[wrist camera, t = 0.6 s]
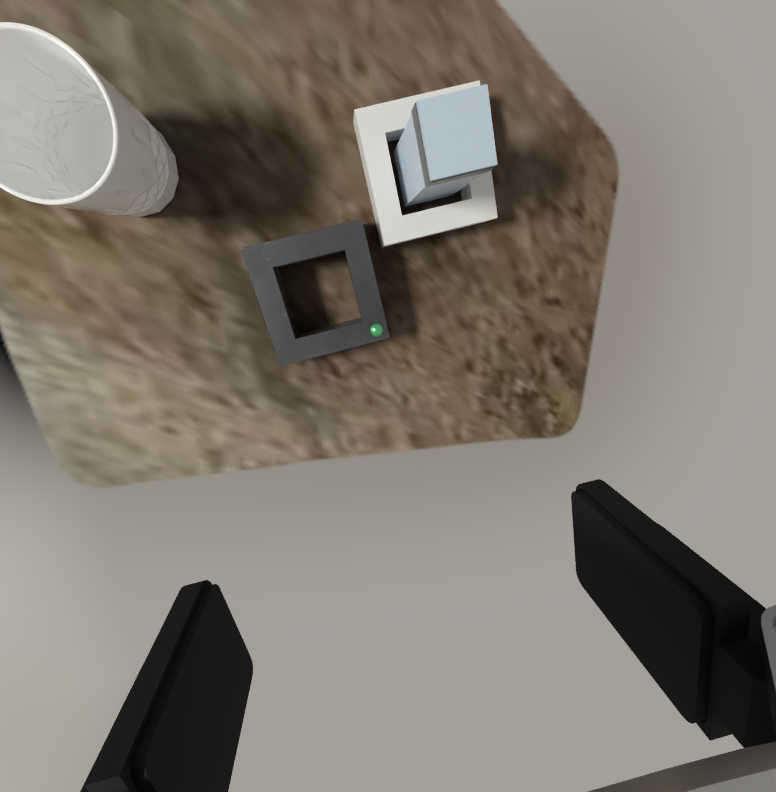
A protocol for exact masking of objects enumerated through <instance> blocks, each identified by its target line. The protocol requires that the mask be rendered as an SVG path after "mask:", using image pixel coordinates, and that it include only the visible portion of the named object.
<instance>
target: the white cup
mask: <svg viewBox="0 0 776 792" xmlns="http://www.w3.org/2000/svg"><path fill="white" fill-rule="evenodd" d="M178 180H179V176H178V170H177V164H176V158H175V155H174V153H173V152H172V150H171V148H170V147H169V145H168V143H167V142H166V140H165V138H164V137H163V135H162V134H161V133H160V132H159V131H158V130H157V129H155V128H154V127H153V126H152V125H151V124H150V123H149V122H148V120H147V119H146V118H145V117H144V116H143V115H142V114H141V113H140V112H139V111H138V110H137V109H136V108H135V107H134V106H133V105H132V104H131V103H130V102H129V101H128V100H127V99H126V98H125V97H124V96H123V95H122V94H121V93H120V92H119V91H118V90H117V89H116V88H115V87H114V86H113V85H112V84H110V83H109V82H108V81H107V80H106V79H105V78H104V77H103V76H102V75H101V74H100V73H99V72H97V71H96V70H95V69H94V68H93V67H92V66H91V65H90V64H89V63H88V62H87V61H86V60H85V59H83V58H82V57H81V56H80V55H79V54H78V53H77V52H76V51H75V50H74V49H72V48H71V47H70V46H69V45H67V44H66V43H65V42H63V41H62V40H60V39H58V38H57V37H55V36H53V35H52V34H50V33H48V32H45V31H43V30H41V29H38V28H36V27H33V26H29V25H25V24H20V23H12V22H0V187H1V188H2V189H4V190H6V191H7V192H9V193H11V194H13V195H15V196H18V197H20V198H22V199H25V200H28V201H32V202H35V203H40V204H46V205H53V206H59V207H65V208H71V209H77V210H83V211H88V212H97V213H105V214H113V215H130V216H136V217H143V216H147V215H150V214H154V213H158V212H160V211H161V210H162V209H163V208H164V207H165V206H166V205H167V204H168V203H169V202H170V201H171V200H172V199H173V198H174V194H175V191H176V187H177V184H178Z"/></svg>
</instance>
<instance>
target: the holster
mask: <svg viewBox="0 0 776 792" xmlns="http://www.w3.org/2000/svg"><path fill="white" fill-rule="evenodd" d="M477 86H480V81H475V82H471V83H467V84H462V85H458V86H454V87H449V88H445V89H441V90H437V91H432V92H428V93H424V94H419V95H415V96H411V97H406V98H402V99H398V100H394V101H389V102H385V103H381V104H376V105H372V106H368V107H363V108H359V109H355V110H354V119H353V124H354V128H355V133H356V137H357V141H358V146H359V150H360V155H361V159H362V164H363V168H364V173H365V177H366V181H367V186H368V190H369V195H370V199H371V204H372V208H373V212H374V217H375V221H376V226H377V230H378V235H379V239H380V243H381V248H382V247H386V246H390V245H394V244H398V243H402V242H406V241H410V240H414V239H418V238H422V237H426V236H430V235H434V234H438V233H442V232H447V231H451V230H455V229H459V228H463V227H467V226H471V225H475V224H479V223H483V222H487V221H490V220H493V219H496V218H498V217H497V209H496V201H495V194H494V186H493V179H492V171H489V172H486V173H484V174H483V175H481V176H480V177H478V178H477V179H475V180H474V181H472V182H471V183H469V184H468V185H466V186H465V187H463V188H462V189H461V190H460V191H461V198H462V201H460V202H456V203H452V204H448V205H443V206H439V207H435V208H431V209H427V210H423V211H419V212H415V213H411V214H407V215H403V216H402V213H401V208H400V203H399V199H398V194H397V189H396V184H395V179H394V174H393V169H392V164H391V159H390V154H389V150H388V145H387V142H390V141H394V140H398V139H400V138H401V135H402V133H403V131H404V129H405V127H406V125H407V122H408V120H409V118H410V116H411V114H412V112H411V111H412V108H413V106H414V104H415V102H417V100H422V99H426V98H430V97H434V96H439V95H443V94H447V93H452V92H456V91H460V90H464V89H469V88H473V87H477Z"/></svg>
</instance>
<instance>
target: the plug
mask: <svg viewBox="0 0 776 792" xmlns="http://www.w3.org/2000/svg"><path fill="white" fill-rule="evenodd" d="M411 112H412V114H411V116H410V118H409V120H408V122H407V125H406V127H405V129H404V131H403V133H402V135H401V138H400V140H399V142H398V144H397V146H396V149H395V151H394V157H395V162H396V167H397V172H398V177H399V182H400V187H401V192H402V197H403V202H404V207H407V206H411V205H415V204H419V203H423V202H428V201H432V200H436V199H440V198H444V197H448V196H452V195H453V194H455V193H456V192H458V191H459V190H461V189H462V188H463V187H465V186H466V185H468V184H469V183H471V182H472V181H474V180H475V179H477V178H478V177H480V176H481V175H483V174H484V173H486V172H489V171H491V170H492V169H493V168H495V167H496V165H497V156H496V148H495V140H494V133H493V125H492V117H491V109H490V101H489V93H488V85H487V84H486V85H482V86H477V87H473V88H469V89H464V90H460V91H456V92H452V93H447V94H443V95H439V96H434V97H430V98H426V99H422V100H417V102H415V104H414V106H413V108H412V111H411Z"/></svg>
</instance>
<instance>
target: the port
mask: <svg viewBox="0 0 776 792" xmlns="http://www.w3.org/2000/svg"><path fill="white" fill-rule="evenodd" d="M241 250H242V253H243V256H244V259H245V262H246V265H247V268H248V271H249V274H250V277H251V280H252V283H253V286H254V289H255V292H256V295H257V298H258V301H259V304H260V307H261V310H262V313H263V316H264V319H265V322H266V325H267V328H268V331H269V334H270V337H271V340H272V343H273V346H274V349H275V352H276V355H277V357H278V360H279V363H280V366H283V365H287V364H291V363H294V362H298V361H302V360H306V359H310V358H314V357H318V356H322V355H326V354H329V353H333V352H337V351H341V350H345V349H349V348H353V347H357V346H360V345H364V344H368V343H372V342H376V341H380V340H384V339H388V338H390V336H389V332H388V328H387V324H386V319H385V315H384V311H383V307H382V302H381V298H380V294H379V290H378V285H377V281H376V277H375V273H374V269H373V264H372V260H371V256H370V252H369V247H368V243H367V239H366V235H365V230H364V226H363V222H362V219H359V220H355V221H351V222H347V223H343V224H339V225H335V226H330V227H326V228H322V229H318V230H314V231H310V232H306V233H302V234H298V235H294V236H290V237H285V238H281V239H277V240H273V241H269V242H265V243H261V244H257V245H253V246H249V247H245V248H241ZM340 252H345V256H346V260H347V264H348V268H349V272H350V276H351V280H352V284H353V288H354V292H355V296H356V299H357V303H358V307H359V311H360V315H361V318H358V319H354V320H350V321H346V322H342V323H339V324H335V325H331V326H327V327H323V328H319V329H315V330H311V331H307V332H303V333H299V332H298V329H297V326H296V323H295V319H294V316H293V313H292V310H291V307H290V303H289V300H288V297H287V294H286V291H285V287H284V284H283V281H282V278H281V274H280V271H279V268H280V267H284V266H288V265H292V264H296V263H300V262H304V261H308V260H312V259H316V258H320V257H324V256H328V255H332V254H336V253H340Z"/></svg>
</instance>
